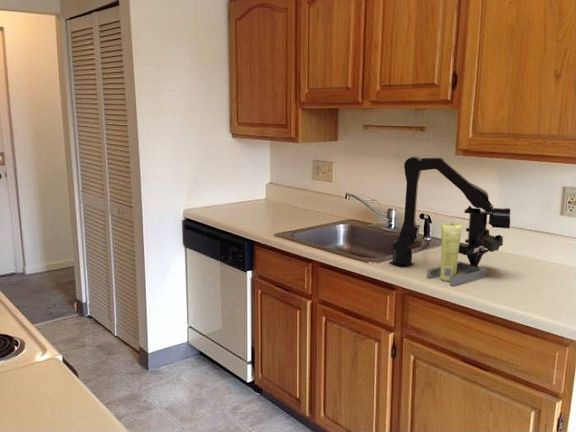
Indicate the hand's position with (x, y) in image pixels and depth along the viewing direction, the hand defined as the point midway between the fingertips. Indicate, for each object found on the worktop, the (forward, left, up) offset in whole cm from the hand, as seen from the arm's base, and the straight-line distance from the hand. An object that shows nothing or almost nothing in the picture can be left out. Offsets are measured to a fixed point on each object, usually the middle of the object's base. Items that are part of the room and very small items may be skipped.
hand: (474, 269), depth 187 cm
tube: (0, -14, -1) cm, 14 cm away
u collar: (0, -10, -1) cm, 10 cm away
